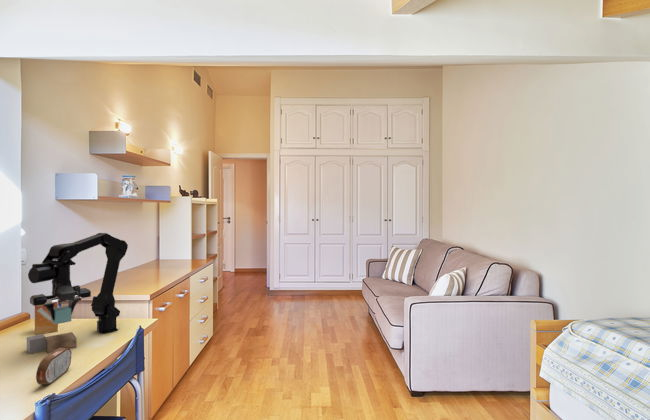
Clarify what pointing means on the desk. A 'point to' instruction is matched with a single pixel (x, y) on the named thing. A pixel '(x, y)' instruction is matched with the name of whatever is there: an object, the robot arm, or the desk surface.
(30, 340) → the grey cube
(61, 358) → the tin
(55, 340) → the walnut block
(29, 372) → the desk surface
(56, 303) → the small box
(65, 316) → the teal cube
